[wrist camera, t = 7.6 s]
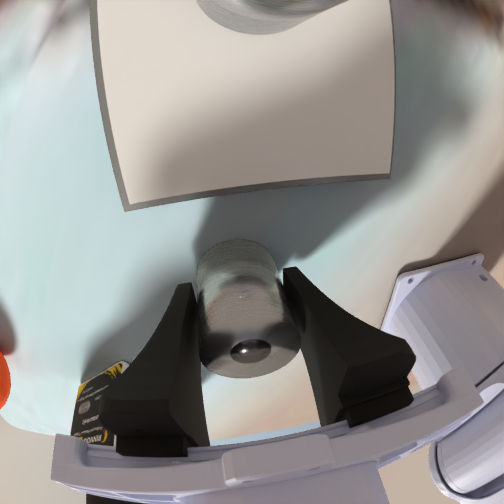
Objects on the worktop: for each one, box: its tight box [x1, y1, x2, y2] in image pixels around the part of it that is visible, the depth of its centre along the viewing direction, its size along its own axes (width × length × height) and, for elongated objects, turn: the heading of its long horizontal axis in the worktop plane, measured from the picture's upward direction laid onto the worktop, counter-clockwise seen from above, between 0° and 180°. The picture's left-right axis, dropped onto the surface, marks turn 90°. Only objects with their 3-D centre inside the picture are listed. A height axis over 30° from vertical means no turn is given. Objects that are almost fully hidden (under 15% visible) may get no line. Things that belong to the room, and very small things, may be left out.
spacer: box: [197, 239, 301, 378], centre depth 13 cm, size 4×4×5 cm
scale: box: [90, 0, 396, 212], centre depth 7 cm, size 11×13×3 cm
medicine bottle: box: [70, 361, 148, 504], centre depth 15 cm, size 7×7×12 cm
